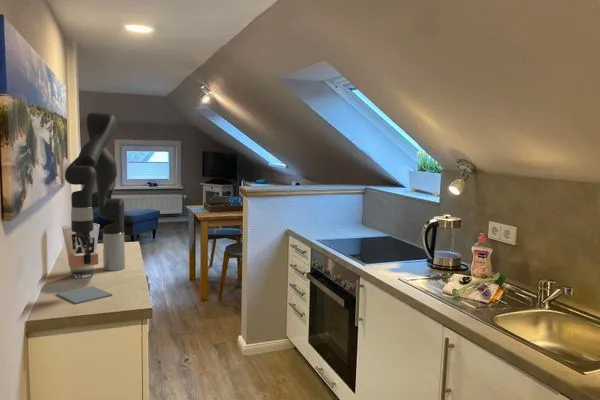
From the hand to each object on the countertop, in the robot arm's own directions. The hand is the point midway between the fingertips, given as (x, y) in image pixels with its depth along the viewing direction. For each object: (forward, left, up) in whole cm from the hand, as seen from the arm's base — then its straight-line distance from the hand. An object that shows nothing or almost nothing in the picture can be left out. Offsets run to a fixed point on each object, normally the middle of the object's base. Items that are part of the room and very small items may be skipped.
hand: (83, 262), depth 178 cm
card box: (0, 0, -1) cm, 1 cm away
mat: (0, 0, -13) cm, 13 cm away
